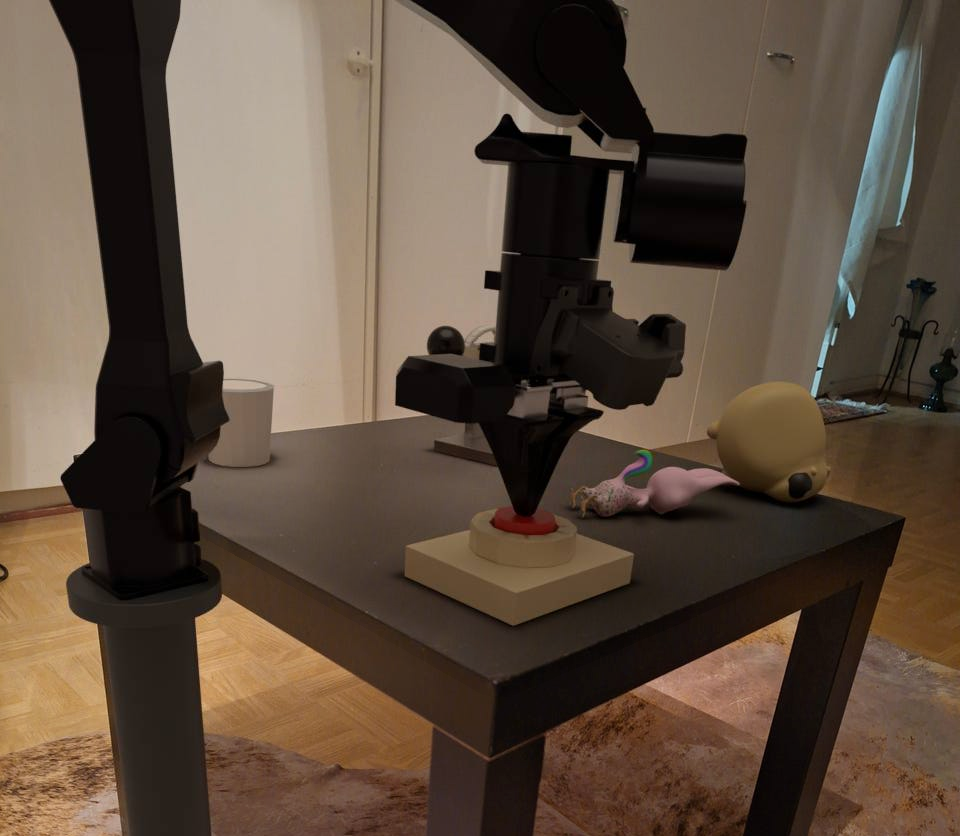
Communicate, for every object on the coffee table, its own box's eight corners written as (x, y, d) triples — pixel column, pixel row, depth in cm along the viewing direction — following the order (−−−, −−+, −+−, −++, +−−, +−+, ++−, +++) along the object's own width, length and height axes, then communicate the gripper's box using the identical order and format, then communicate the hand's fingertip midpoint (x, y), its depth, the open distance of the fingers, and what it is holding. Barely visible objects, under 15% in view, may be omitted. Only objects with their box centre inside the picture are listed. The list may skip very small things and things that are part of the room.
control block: (513, 626, 52) (519, 564, 50) (404, 576, 58) (406, 519, 57) (630, 583, 60) (638, 528, 58) (523, 543, 66) (528, 492, 65)
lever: (446, 365, 79) (454, 324, 79) (415, 359, 81) (422, 319, 80) (518, 386, 91) (525, 350, 90) (489, 381, 92) (496, 346, 91)
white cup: (186, 461, 81) (180, 383, 78) (231, 447, 87) (228, 375, 84) (248, 472, 79) (244, 393, 76) (290, 457, 84) (289, 384, 81)
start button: (525, 554, 55) (527, 528, 55) (480, 537, 58) (482, 511, 57) (564, 542, 58) (567, 517, 57) (520, 526, 61) (523, 502, 60)
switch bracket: (496, 465, 88) (505, 354, 83) (433, 450, 91) (438, 343, 87) (551, 449, 96) (562, 347, 91) (491, 436, 100) (499, 338, 95)
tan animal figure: (736, 536, 84) (834, 483, 76) (677, 428, 84) (768, 364, 77) (778, 514, 91) (872, 464, 83) (723, 414, 91) (812, 355, 83)
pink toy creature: (589, 539, 72) (752, 510, 75) (587, 470, 70) (756, 442, 72) (564, 517, 78) (717, 490, 80) (561, 451, 75) (720, 426, 78)
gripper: (551, 263, 39) (520, 582, 46) (753, 273, 52) (705, 523, 59) (393, 246, 46) (385, 526, 53) (604, 258, 59) (576, 483, 65)
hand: (524, 514), depth 57 cm, fingers closed, pressing on start button
